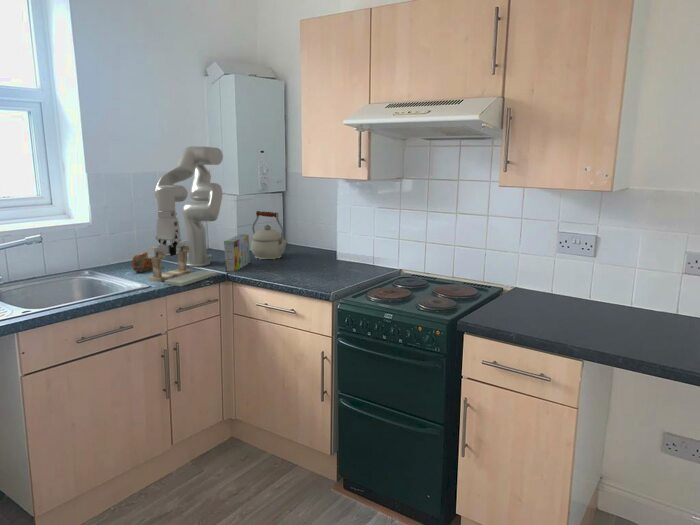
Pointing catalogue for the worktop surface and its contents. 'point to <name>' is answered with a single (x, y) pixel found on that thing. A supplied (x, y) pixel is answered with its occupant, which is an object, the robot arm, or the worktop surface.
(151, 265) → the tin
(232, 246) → the snack box
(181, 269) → the rack
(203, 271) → the board
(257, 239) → the kettle
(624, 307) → the worktop surface
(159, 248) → the rail
